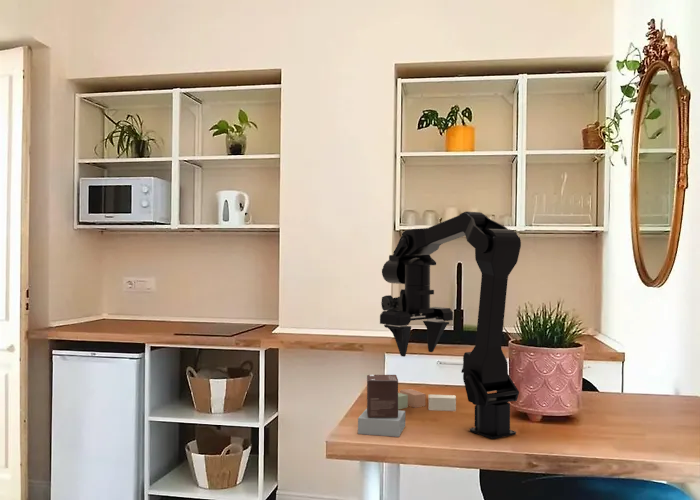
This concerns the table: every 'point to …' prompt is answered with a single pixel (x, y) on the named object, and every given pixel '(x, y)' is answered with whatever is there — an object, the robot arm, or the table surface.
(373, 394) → the box
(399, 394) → the sage brick
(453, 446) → the table surface
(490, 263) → the robot arm
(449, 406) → the cream brick
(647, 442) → the table surface
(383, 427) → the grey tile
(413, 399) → the terracotta brick
